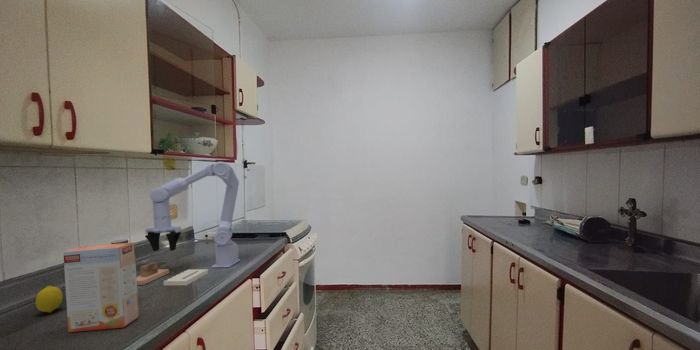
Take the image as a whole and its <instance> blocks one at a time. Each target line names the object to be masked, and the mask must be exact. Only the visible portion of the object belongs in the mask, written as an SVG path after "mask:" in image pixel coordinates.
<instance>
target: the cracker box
mask: <svg viewBox="0 0 700 350" xmlns="http://www.w3.org/2000/svg"><path fill="white" fill-rule="evenodd" d="M62 253H63V267H64V268H63V269H64V281H65V282H64V284H65V298H66V315H67V327H68V328H67V329H68V333H76V332H87V331H99V330H100V331H101V330H110V329H112V330H113V329H122V328H125V327H127V326H128V325H130V324H131V323H132V322H134V321H136V319H138V318H139V317H140V310H139V309H140V308H139V293H138V285H137V277H138V276H137V265H136V248H135V242H128V243H120V244H111V243H108V244H106V243H105V244H95V245H84V246H83V245H82V246H77V247H74V248H72V249H71V248H70V249H67V250H64V251H63V252H62Z"/></svg>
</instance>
